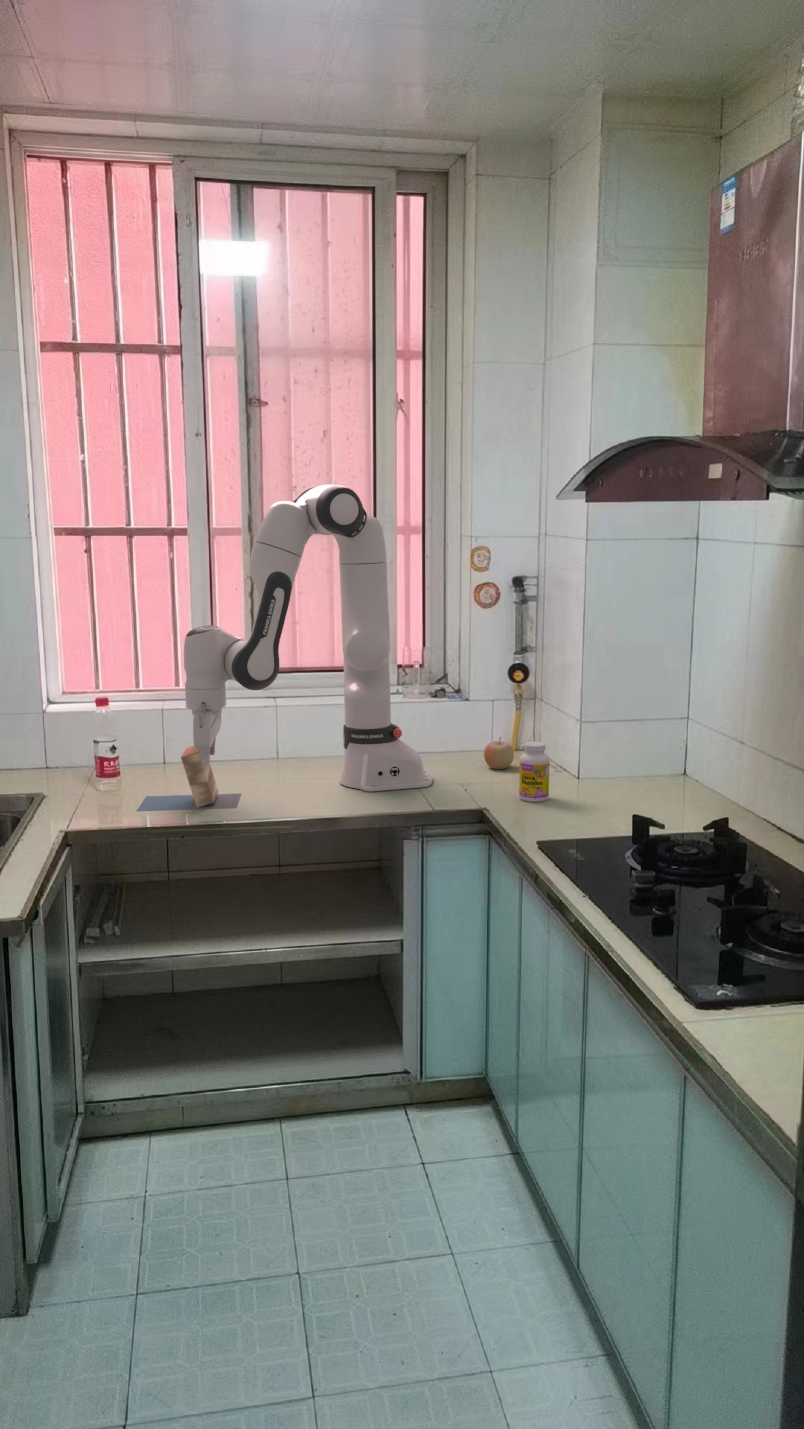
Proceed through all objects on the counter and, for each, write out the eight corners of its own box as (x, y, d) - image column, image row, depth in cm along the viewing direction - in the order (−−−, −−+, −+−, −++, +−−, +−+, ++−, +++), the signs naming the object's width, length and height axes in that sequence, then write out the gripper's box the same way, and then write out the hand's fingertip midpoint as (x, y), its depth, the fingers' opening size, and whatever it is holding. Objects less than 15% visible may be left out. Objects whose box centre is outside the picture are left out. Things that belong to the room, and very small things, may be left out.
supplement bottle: (515, 801, 240) (516, 745, 238) (523, 793, 246) (524, 739, 244) (544, 804, 238) (545, 748, 235) (551, 796, 244) (552, 741, 241)
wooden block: (218, 791, 247) (203, 743, 244) (213, 802, 238) (198, 752, 235) (201, 796, 247) (186, 747, 244) (196, 807, 238) (180, 756, 235)
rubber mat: (241, 795, 249) (241, 793, 248) (236, 810, 237) (236, 808, 237) (146, 798, 247) (146, 796, 247) (136, 813, 236) (136, 810, 236)
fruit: (497, 763, 276) (497, 732, 274) (519, 767, 270) (519, 737, 269) (477, 768, 271) (477, 737, 269) (498, 773, 265) (498, 742, 264)
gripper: (214, 707, 228) (217, 770, 230) (224, 690, 248) (227, 748, 250) (184, 708, 227) (187, 771, 230) (197, 691, 247) (200, 749, 250)
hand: (208, 759), depth 240 cm, fingers open, 8 cm apart
